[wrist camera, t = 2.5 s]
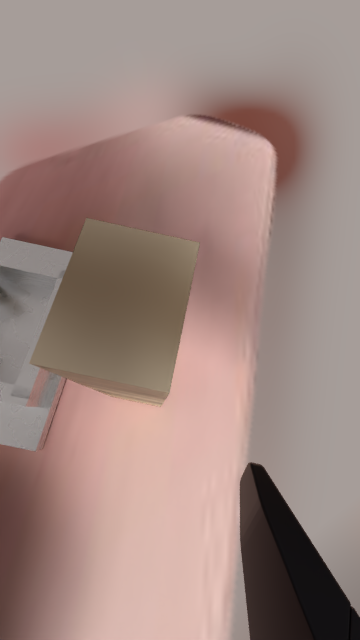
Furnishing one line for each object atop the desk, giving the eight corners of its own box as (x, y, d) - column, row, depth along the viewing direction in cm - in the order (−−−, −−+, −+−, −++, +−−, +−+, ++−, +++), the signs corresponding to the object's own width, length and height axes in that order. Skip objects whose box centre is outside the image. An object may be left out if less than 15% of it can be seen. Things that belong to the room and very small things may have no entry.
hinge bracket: (42, 449, 17) (-1, 462, 13) (-81, 424, 17) (-170, 427, 12) (104, 265, 22) (90, 225, 17) (9, 244, 22) (-32, 198, 17)
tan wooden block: (160, 406, 19) (169, 392, 7) (111, 396, 19) (29, 363, 7) (173, 345, 20) (199, 242, 8) (128, 336, 20) (86, 217, 8)
